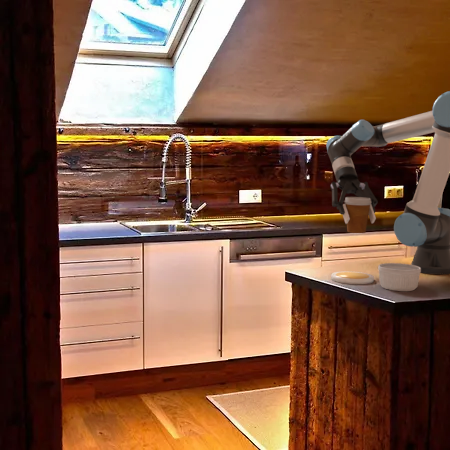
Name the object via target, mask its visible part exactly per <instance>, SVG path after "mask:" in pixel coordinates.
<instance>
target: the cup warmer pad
mask: <svg viewBox="0 0 450 450" xmlns="http://www.w3.org/2000/svg"><path fill="white" fill-rule="evenodd" d="M330 277H331V278H330V280H331V281H333V282H335V283H340V284H345V285H367V284H369V285H370V284H372V283H374V282H375V281H374V279H375V276H374V275H373V274H371V273H367V272H361V271H344V270H343V271H335V272H332V273H331V276H330Z"/></svg>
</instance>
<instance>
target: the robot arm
mask: <svg viewBox="0 0 450 450" xmlns="http://www.w3.org/2000/svg"><path fill="white" fill-rule="evenodd" d="M432 133H434V135H433V138H432V141H431V145H430V148H429V151H428V153H427V157H426V159H425V163H424V166H423V169H422V170H421V174H420V177H419V180H418V183H417V186H416V189H415V193H414V195H413V198H412V200H410V201H409V202H407V203H406V205H405V208H404V211H403V213H401V214H399V216H398V217H396V219H395V221H394V225H393V232H394V235H395V236H396V238H397V240H398V241H399V242H400V244H402V245H404V246H406V247H414V248H415V247H416V251H415V252H414V255H413V259H412V261H411V264H410V265H415V266H418V267H420V268H421V272H420V274H429V275H449V274H450V209H449V208H444V207H439V205H440V202H441V198H442V195H443V192H444V189H445V187H446V185H447V181H448V178H449V176H450V90H449V91H446V92H444V93H441V95H439V96H438V97H437V99H436V100H435V101H434V102H433V106H432V110H430V111H429V110H428V111H427V112H423V113H419V114H415V115H412V116H407V117H405V118H401V119H397V120H392V121H390V122H386V123H382V124H379V125H375V126H374V125H372V124H371V123H370V122H369V121H367V120H365V119H359V120H358V121H357V122H355V123H354V124H352V126H351V127H350V128H349V129H348V130H347V131H346V132H345V133H343V134H342V135H334V136H333V137H330V138H328V140H327V142H326V143H325V144H326V150H327V155H328V157H329V160H330V162H331V166H332V170H333V172H334V176H335V179H336V181H332V182H331V184H330V189H331V205H332V206H331V207H332V208H335V207H336V210H339V214H340V215H341V216H342V217H343V220H344V223H345V225H347V223H348V221H349V220H350V218H349V214H348V211H347V208H346V205H345V203H344V201H345V198H346V194H353V195H355V197H366V198H370V199H371V202H372V203H371V205H370V209H369V215H368V219H370V220H369V221H370V223H371V224H374V223H375V221H376V220H377V218H376V215H375V214H376V208H375V207H376V206H377V204H378V199H377V197H376V196H375V195H374V193H373V192H372V190H371V188H370V187H369V183H368V181H364V182H360V181H359V178H358V174H357V172H356V169H355V165H354V162H353V160H352V155H353V154H354V153H355V152H356V151H358V150H359V149H360V148H361V147H376V148H379V147H385V146H387V145H388V144H391V143H395V142H399V141H404V140H407V139H411V138H415V137H420V136H423V135H428V134H432ZM338 188H339V189H340V190H341V194H340V197H339V200H338Z"/></svg>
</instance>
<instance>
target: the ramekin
mask: <svg viewBox="0 0 450 450" xmlns="http://www.w3.org/2000/svg"><path fill="white" fill-rule="evenodd" d="M377 269H378V270H377V271H378V278H379V279H378V280H379V284H380V286H381V287H382V288H383V289H386V290H388V291H389V290H390V291H396V292H397V291H399V292H410V291H414V290H416V289H417V288H418V286H419V280H420V275H421V268H420V267H418V266H415V265H411V264H408V263H401V262H399V263H398V262H397V263H395V262H388V263H387V262H386V263H380V264H378V267H377Z"/></svg>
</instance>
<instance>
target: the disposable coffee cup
mask: <svg viewBox="0 0 450 450" xmlns="http://www.w3.org/2000/svg"><path fill="white" fill-rule="evenodd" d="M343 203H344V204H345V205H346V208H347V211H348V214H349V218H350V220H349V221H348V223H347V224H346V230H347V233H351V234H365V233H366V232H367V226H368V219H369V209H370V205H371V203H372V202H371V199H370V198H366V197H358V196H345V198H344V201H343Z"/></svg>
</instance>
